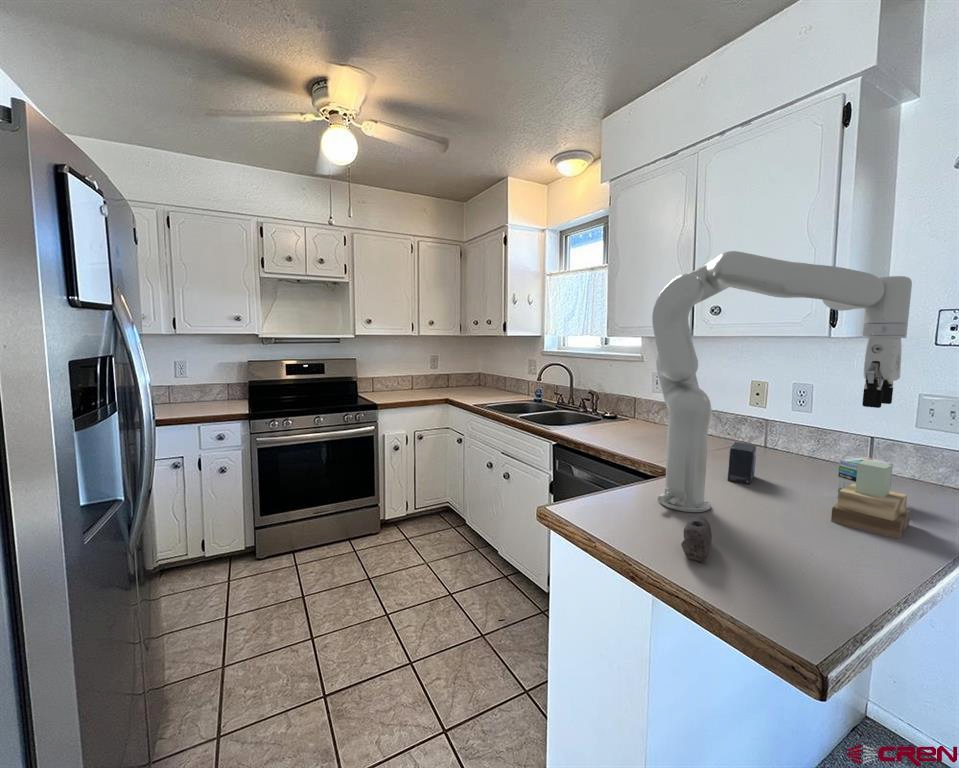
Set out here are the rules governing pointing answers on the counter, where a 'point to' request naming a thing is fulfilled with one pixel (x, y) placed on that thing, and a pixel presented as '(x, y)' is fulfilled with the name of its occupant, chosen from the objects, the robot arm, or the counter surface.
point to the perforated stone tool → (697, 538)
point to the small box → (742, 462)
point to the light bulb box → (851, 471)
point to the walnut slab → (871, 522)
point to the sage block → (873, 478)
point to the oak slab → (873, 503)
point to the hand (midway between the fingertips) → (877, 405)
